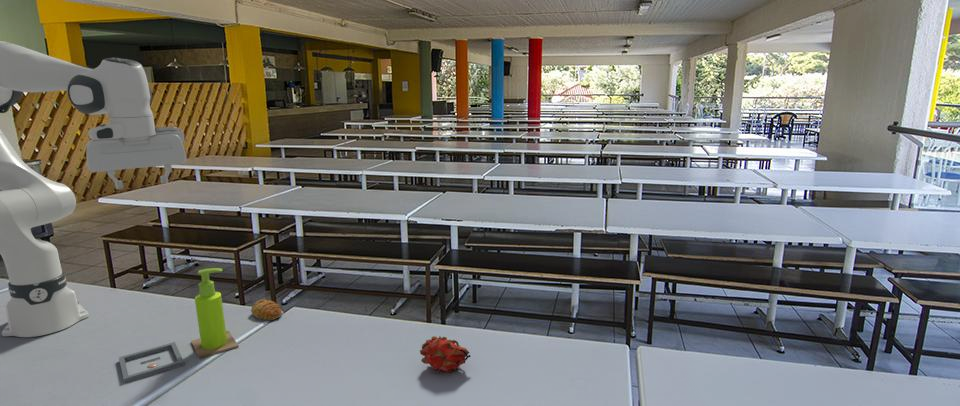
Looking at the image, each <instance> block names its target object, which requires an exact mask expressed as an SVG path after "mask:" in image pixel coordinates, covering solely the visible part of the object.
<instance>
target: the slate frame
mask: <svg viewBox="0 0 960 406" xmlns="http://www.w3.org/2000/svg"><path fill="white" fill-rule="evenodd" d="M167 350H172V352H173V354H174V357H175V359H176V361H174V362H170V363H167V364H163V365H160V366H158V363H157V362H156V363H151V362H154V361H157V360H160V359H161V357H160V356H159V357H154V358H151V359H148V360H144V361H141V362H140V364H141V365H143V364H145V363H146V364H147V363H150V364H149V365H147V368H148V369H146V370H143V371H140V372H136V373H133V374H129V371H128V368H127V364H126V362H127V361H131V360H134V359H138V358H142V357H145V356H149V355H152V354H157V353H159V352H165V351H167ZM118 361H119V365H120V369H121V373H122V378H123V383H124V384H125V383H129V382H132V381H135V380H139V379H143V378H145V377H149V376H153V375H155V374H158V373H162V372H165V371H169V370H172V369H176V368H179V367H182V366H185V361H184V359H183V357H182V355H181V353H180V350H179V348H178V345H177V344H176V342H175V341H173V342H170V343H166V344H163V345H158V346H155V347H151V348H148V349H144V350H140V351H137V352H134V353H129V354H126V355H121V356H119V357H118Z"/></svg>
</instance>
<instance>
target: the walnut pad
mask: <svg viewBox="0 0 960 406" xmlns="http://www.w3.org/2000/svg"><path fill="white" fill-rule="evenodd" d="M226 336H227V343H226V344H225V345H223V346H221V347H219V348H216V349H204V348H202V345H201V338H200V337H199V338H197V339H193V340H191V341H190V343H191V345H192V347H193V348H194V349H193V350H194V351H195V352H196V354H197V357H198V359H203V358H206V357H209V356H212V355H213V356H214V355H217V354H219V353H224V352H227V351H229V350H233V349H237V348H239V344H238V343H237V341H236V340H235V338H234V337H233V335H232V334H231V331H229V330H226Z"/></svg>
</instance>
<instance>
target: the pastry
mask: <svg viewBox="0 0 960 406" xmlns="http://www.w3.org/2000/svg"><path fill="white" fill-rule="evenodd" d="M250 311H251V314H252V315H253V317H255V318H257V319H260V320H264V321H273V320H276V319H278V318H280V317H281V316H282V314H283V311H282V308H281V307H280V306H279V304H277V303H276V302H275V301H273V300H267V299H259V300H257V301H256V302H255V303H254V304H253V305H252V307H251V309H250Z"/></svg>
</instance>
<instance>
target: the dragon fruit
mask: <svg viewBox="0 0 960 406" xmlns="http://www.w3.org/2000/svg"><path fill="white" fill-rule="evenodd" d="M419 354H420V355H421V356H424V357H422V358H421V363H423V364H427V365H428V364H429V365H430V367H432V368H433V369H434V371H435V373H436V374H439V373H440V370H441V371H445V372H447V373H450V374H452V373H456V372H458V371H460V370H461V369H459V368H460V366H461V365H463V364H466V361H467V360H468V359H469V358H471V355H470V351H469V350H468V349H467V348H465V347H463V346H461V345H460V344H459V342H458V340H455V339H454V340H453V339H452V340H451V339H448V337H447V336H443V337H442V336H441V335H439V336H438V337H437V335H434V336H431V339H426V340H425V342H424V343H422V344H421V349H420V350H419Z"/></svg>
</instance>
